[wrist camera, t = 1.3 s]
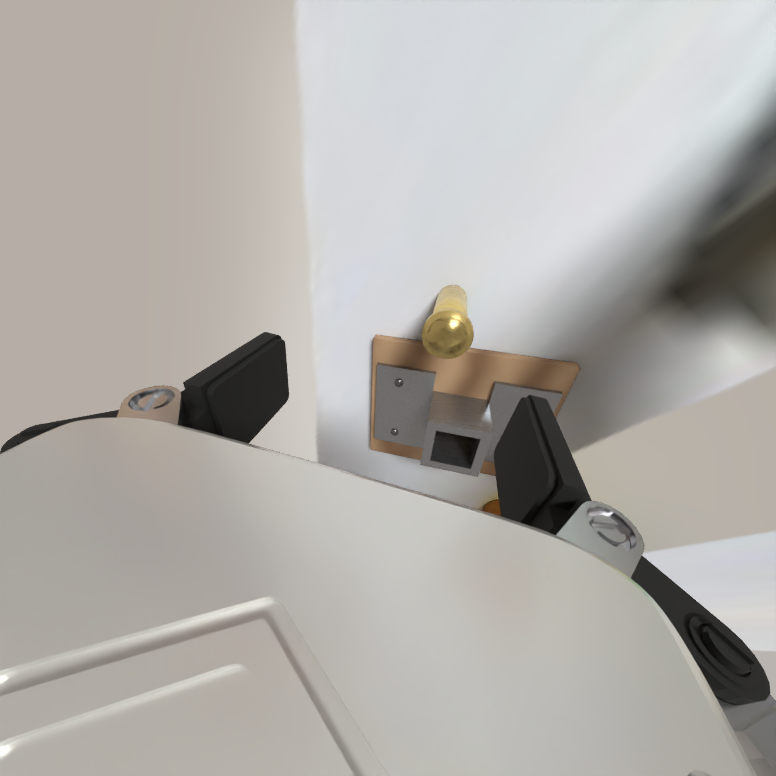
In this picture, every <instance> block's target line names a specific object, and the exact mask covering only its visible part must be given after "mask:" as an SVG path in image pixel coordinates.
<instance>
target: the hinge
mask: <svg viewBox="0 0 776 776" xmlns="http://www.w3.org/2000/svg"><path fill="white" fill-rule="evenodd" d="M435 377H436V371H430V370H423V369H417V368H411V367H404V366H398V365H392V364H386V363H379V362H378V364H377V379H376V407H375V434H374V439H379V440H384V441H389V442H394V443H399V444H404V445H409V446H414V447H419V448H423V452H422V458H421V464H420V465H425V466H429V467H434V468H439V469H443V470H448V471H453V472H457V473H462V474H467V475H472V476H476V477H478V475H479V472H480V470H481V467H482V464H483V461H487V462H492V463H494V450H495V448H496V446H497V444H498V442H499V440H500V438H501V436H502V434H503V432H504V430H505V428H506V426H507V424H508V422H509V420H510V418H511V416H512V414H513V413H514V411H515V409H516V407H517V405H518V403H519V401H520V399H521V398H522V397H525V398H526V397H527V396H528V395H533V396H537V397H542V398H546V399H547V400H548V402H549V405H550V407H551V409H552V412H553V414H554V412H555V410H556V408H557V406H558V404H559V402H560V399H561V397H562V395H563V393H562V392H561V391H556V390H550V389H543V388H537V387H531V386H524V385H518V384H512V383H505V382H499V381H495V382H494V385H493V389H492V392H491V395H490V398H489V400H485V399H479V398H473V397H467V396H461V395H456V394H450V393H444V392H438V391H433V388H434V383H435ZM425 434H426V435H425Z"/></svg>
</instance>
